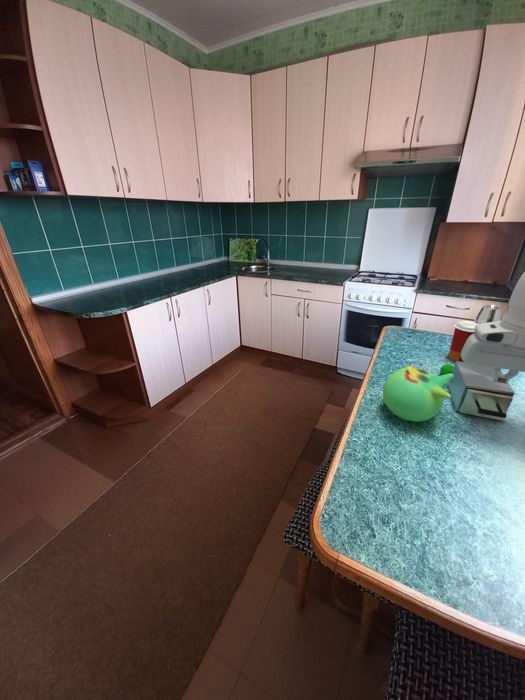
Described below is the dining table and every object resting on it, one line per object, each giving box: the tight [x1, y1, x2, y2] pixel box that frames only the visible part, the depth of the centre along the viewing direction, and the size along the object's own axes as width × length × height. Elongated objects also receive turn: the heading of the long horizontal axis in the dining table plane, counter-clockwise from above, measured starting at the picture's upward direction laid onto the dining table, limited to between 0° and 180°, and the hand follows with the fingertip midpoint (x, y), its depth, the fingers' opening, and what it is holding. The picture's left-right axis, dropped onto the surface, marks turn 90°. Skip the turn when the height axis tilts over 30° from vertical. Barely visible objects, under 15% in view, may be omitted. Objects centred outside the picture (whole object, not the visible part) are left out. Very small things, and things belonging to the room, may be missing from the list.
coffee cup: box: [448, 320, 477, 363], centre depth 112 cm, size 8×8×15 cm
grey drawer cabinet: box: [447, 361, 515, 413], centre depth 89 cm, size 15×12×10 cm
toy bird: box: [382, 365, 454, 422], centre depth 84 cm, size 18×17×15 cm
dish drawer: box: [459, 388, 514, 421], centre depth 85 cm, size 19×10×8 cm, turn 159°
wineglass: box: [473, 304, 502, 324], centre depth 115 cm, size 8×8×20 cm
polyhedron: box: [439, 363, 455, 376], centre depth 103 cm, size 5×5×5 cm
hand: (499, 381), depth 76 cm, fingers closed
